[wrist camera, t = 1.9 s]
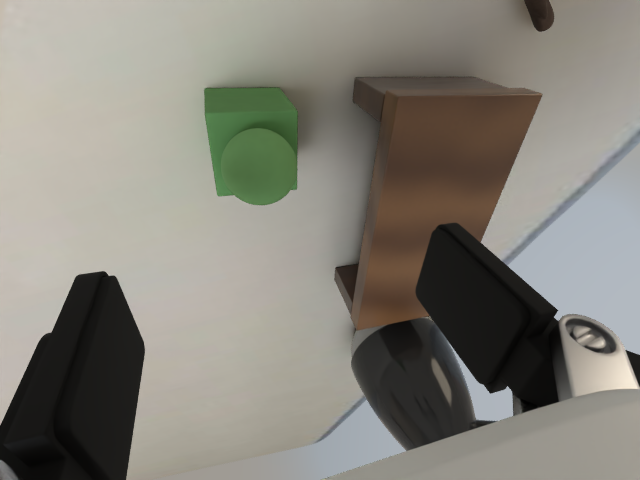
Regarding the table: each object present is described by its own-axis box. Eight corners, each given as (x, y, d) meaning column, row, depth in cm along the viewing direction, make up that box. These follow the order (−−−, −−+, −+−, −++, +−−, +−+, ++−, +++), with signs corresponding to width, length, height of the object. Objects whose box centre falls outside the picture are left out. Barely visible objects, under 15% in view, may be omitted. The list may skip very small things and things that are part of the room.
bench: (355, 72, 21) (398, 96, 16) (475, 72, 23) (543, 93, 18) (333, 281, 32) (356, 331, 27) (417, 267, 34) (451, 311, 29)
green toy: (204, 87, 19) (205, 137, 13) (279, 87, 20) (315, 132, 14) (214, 160, 22) (220, 231, 15) (281, 156, 23) (312, 221, 16)
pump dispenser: (430, 325, 41) (521, 459, 29) (355, 363, 41) (415, 510, 30) (415, 276, 34) (524, 423, 23) (326, 321, 35) (389, 488, 23)
